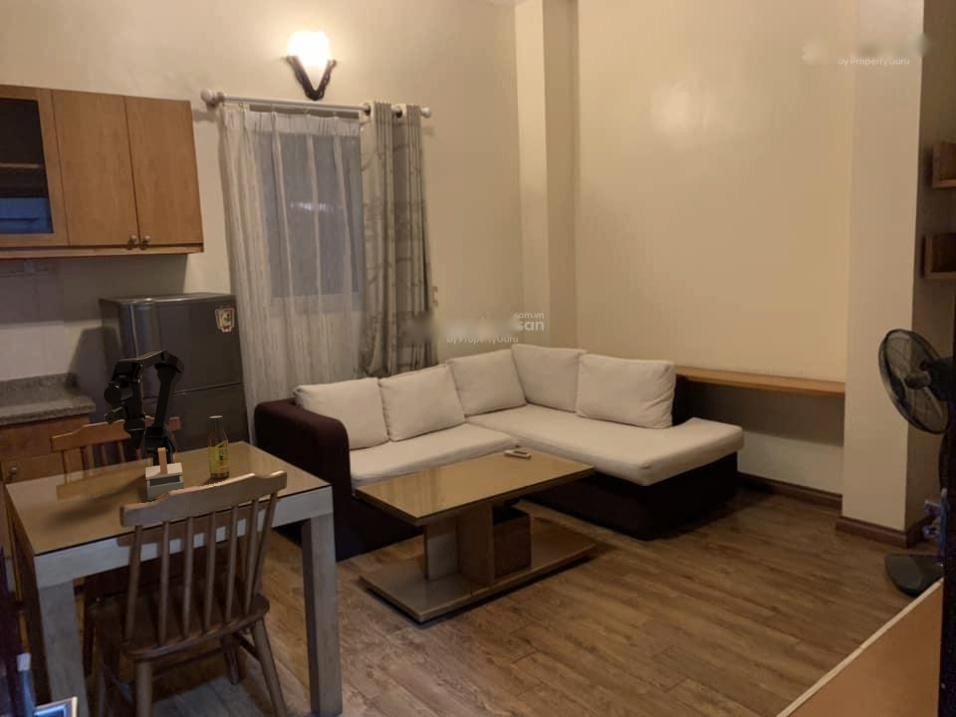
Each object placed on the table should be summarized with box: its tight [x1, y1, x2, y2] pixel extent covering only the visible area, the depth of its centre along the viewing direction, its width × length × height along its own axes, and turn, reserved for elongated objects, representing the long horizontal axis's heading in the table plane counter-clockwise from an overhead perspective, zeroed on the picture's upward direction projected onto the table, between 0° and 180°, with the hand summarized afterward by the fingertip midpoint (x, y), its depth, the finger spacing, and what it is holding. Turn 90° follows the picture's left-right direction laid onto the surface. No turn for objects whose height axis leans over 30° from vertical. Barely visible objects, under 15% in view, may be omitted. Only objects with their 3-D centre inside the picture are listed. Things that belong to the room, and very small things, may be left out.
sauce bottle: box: [207, 415, 231, 479], centre depth 233 cm, size 6×6×20 cm
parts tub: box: [146, 474, 185, 501], centre depth 219 cm, size 12×10×4 cm
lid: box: [145, 447, 184, 481], centre depth 226 cm, size 12×10×8 cm
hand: (137, 446), depth 229 cm, fingers open, 9 cm apart
